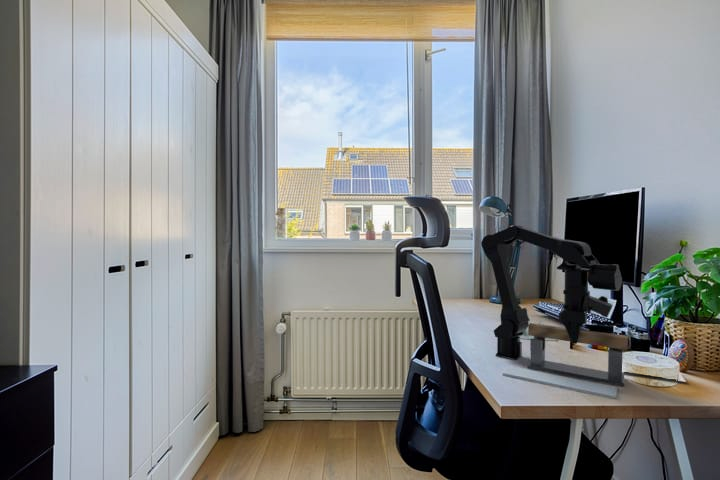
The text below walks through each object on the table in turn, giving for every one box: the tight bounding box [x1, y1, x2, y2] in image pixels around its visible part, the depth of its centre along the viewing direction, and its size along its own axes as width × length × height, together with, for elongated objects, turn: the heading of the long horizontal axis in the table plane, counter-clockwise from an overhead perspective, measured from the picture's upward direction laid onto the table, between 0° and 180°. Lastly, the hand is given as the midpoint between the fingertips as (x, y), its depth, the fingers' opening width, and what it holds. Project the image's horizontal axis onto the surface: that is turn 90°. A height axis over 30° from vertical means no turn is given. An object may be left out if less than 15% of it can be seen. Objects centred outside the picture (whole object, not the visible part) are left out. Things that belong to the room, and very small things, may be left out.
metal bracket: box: [519, 321, 558, 343], centre depth 146 cm, size 14×6×15 cm
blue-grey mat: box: [502, 365, 618, 400], centre depth 101 cm, size 26×7×1 cm, turn 55°
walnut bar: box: [528, 322, 629, 351], centre depth 107 cm, size 24×3×3 cm, turn 55°
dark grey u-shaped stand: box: [527, 336, 625, 387], centre depth 107 cm, size 23×7×8 cm, turn 55°
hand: (575, 342), depth 107 cm, fingers closed on walnut bar, 3 cm apart
